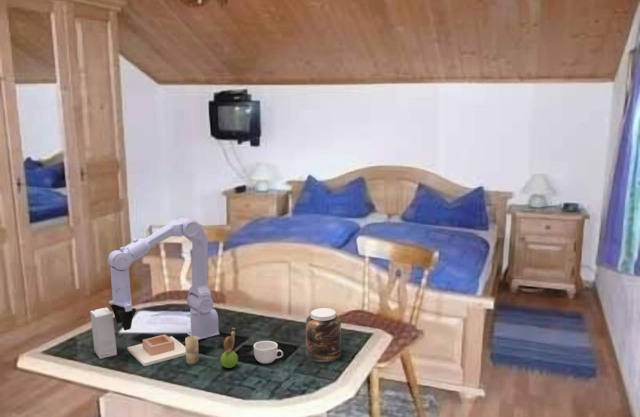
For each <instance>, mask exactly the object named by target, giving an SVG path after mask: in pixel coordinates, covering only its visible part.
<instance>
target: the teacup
mask: <svg viewBox="0 0 640 417" xmlns="http://www.w3.org/2000/svg"><path fill="white" fill-rule="evenodd" d="M278 346H279V345H278V343H277V342H275V341H271V340H260V341H257V342H255V343H254V344H253V354H254V357H255V360H256V361H257V362H259V363H260V364H262V365H263V364H270V363H272V362H274V361H275V360H276V359H280V358H282V357H283V356H284V352H283V350H281V349H278ZM278 352H279V353H281V355H279V356H278Z"/></svg>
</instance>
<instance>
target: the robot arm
mask: <svg viewBox="0 0 640 417" xmlns="http://www.w3.org/2000/svg"><path fill="white" fill-rule="evenodd" d="M170 237H180V238H183V237H185V238H186V239H187V240H188V241H189V242H191V243H192V244H191V245H192V250H191V252H192V253H191V254H192V260H191V263H192V264H191V270H192V271H191V277H192V278H191V280H192V281H191V282H192V283H191V284H192V285H191V286H190V287H189V292H188V296H187V298H186V303H187V306H188V307H189V308H190V310H189V313H190V331H188V332H187V333H186V334H187V335H188V336H197V337H198V341H199V340H203V339H207V338H211V337H214V336H219V335H220V332H219V328H220V327H219V316H218V312H217V310H216V309H215V308H213V307H214V301H213V299H212V292H211V290H210V288H209V286H208V265H209V264H208V256H209V255H208V252H209V251H208V249H209V248H208V244H209V241H208V238H209V237H208V236H207V234H206V232H205V230H204V228H203V225H202V224H201V223H200V222H198V221H197V220H195V219H191V218H188V217H187V216H182V215H181V216H178V217H176V218H175V219H172V220H170V221H169V222H168V223H166V224H165V225H164V226H163V227H161V228H159V229H157V230H156V231H155V232H152V234H150V235H149V236H147V237H146V238H142V237H139V238H136V237H135V238H134V239H132V242H130V243H128V244H127V245H125V246H121V247H119V249H118V250H117V249H116V250H113V251H111V252H110V253H109V255H108V259H106V260H107V261H106V262H107V264H108V265H109V266H110V280H111V282H110V284H111V294H112V300H109V301H108V305H109V306H110V308H111V310H112V313H113V316H114V318H115V321H116V324H121V326H122V329H123V330H124V331H128V330H131V328H132V323H133V318H134V316H135V314H136V312H137V309H136V308H135V307H133V305H132V302H133V301H132V299H133V298H132V297H131V296H132V293H131V279H130V277H131V276H130V270H129V268H130V267H131V264H132V263H134V262H136V260H138V259H140V258H142V257H143V256H146V255H147V254H148V253H149V252H150V250H151V248H152V247H153V246H156V245H157V244H160V243H161V242H162V241H165V240H166V239H169V238H170Z"/></svg>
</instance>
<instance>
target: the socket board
mask: <svg viewBox="0 0 640 417" xmlns="http://www.w3.org/2000/svg"><path fill="white" fill-rule="evenodd" d="M127 351H128V353H130V354H131V356H133V357H134V358H135V359H136V360H137V361H138V362H139V363H140V364H141V365H142V366H143V367H146V366H151V365H155V364H157V363H158V364H159V363H161V362H165V361H168V360H169V361H170V360H171V359H172V360H173V359H177V358H179V357H184V356H186V345H184V344H182V343H181V342H180V341H179V340H178V339H176V338H175V337H173V336H172V335H171V336H168V335H167V334H160V335H157V336H153V337H148V338H144V339H142V343H139V344H136V345H132V346H127Z"/></svg>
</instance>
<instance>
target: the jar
mask: <svg viewBox="0 0 640 417" xmlns="http://www.w3.org/2000/svg"><path fill="white" fill-rule="evenodd" d="M341 321H342V320H341V318H340V316H339V315H337V312H336V310H334V309H333V308H329V307H328V308H327V307H321V308H320V307H319V308H316V309H312V310H311V311H310V315H309V316H307V317H306V320H305V356H306V358H307V360H308V361H309V360H310V361H311V362H315V363H316V362H317V363H331V362H334V361H336V359H337V360H339V359H340V358H341V356H342V322H341ZM330 361H331V362H330Z"/></svg>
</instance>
